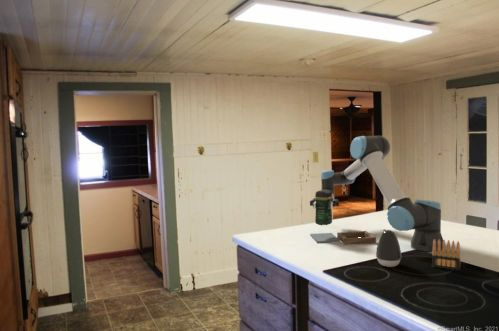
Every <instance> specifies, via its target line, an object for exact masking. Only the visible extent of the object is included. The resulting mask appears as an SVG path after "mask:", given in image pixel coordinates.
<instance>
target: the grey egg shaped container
mask: <svg viewBox="0 0 499 331" xmlns="http://www.w3.org/2000/svg"><path fill="white" fill-rule="evenodd" d="M382 231H383V232H382V233H381V234H380V236H379V239H378V241H377V242H378V243H377V246H376V253H375V257H376V259H377V262H378V264H380V265H381V266H383V267H385V266H386V268H394V267H396V266H398V265H399V264H400V262H401V259H402V251H401V247H400V242H399V240H398V237H397V235H396V233H395V232H393V231H392V230H390V229H389V230H388V229H387V230H386V229H383V230H382Z"/></svg>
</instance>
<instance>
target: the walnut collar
mask: <svg viewBox="0 0 499 331" xmlns="http://www.w3.org/2000/svg"><path fill="white" fill-rule="evenodd" d="M336 233H337V234H336V237H337V238H338V239H339V240H340V242H342V243H343V244H344V245H345V246H350V245H366V244H370V245H371V244H376V243H377V237H376V236H375V235H373V234H371V233H370V232H368V231H367V230H364V231H363V230H362V231H361V230H359V231H343V232H341V231H339V232H336ZM358 237H361V238H358Z"/></svg>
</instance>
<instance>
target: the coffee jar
mask: <svg viewBox="0 0 499 331" xmlns="http://www.w3.org/2000/svg"><path fill="white" fill-rule="evenodd" d="M314 197H315V199H316V208H315V220H314V221H315V225H316V224H317V225H318V226H328V225H330V224H332V223H333V212H332V210H333V208H332V209H331V202H332V192H331V191H330V190H326V189H323V190H318V191H316V192H315V195H314Z"/></svg>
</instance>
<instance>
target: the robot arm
mask: <svg viewBox="0 0 499 331" xmlns="http://www.w3.org/2000/svg"><path fill="white" fill-rule="evenodd" d="M349 148H350V149H349V152H350V155H351V157H352V158H353V159H355V161H354V162H353V163H351V164H350V165H349V166H348V167H347V168H345V170H343V171H341V172H335V170H333V169H325V170H324V169H323V170H322V171H321V175H320V176H321V177H320V179H321V190H323V189H326V190H330V191H331V192H332V202H331V209H332V210H333V208H334V207H339V206H340V205H339V204H340V201H339V199H338V198H335V186H341V185H342V186H344V185H350V184H353V183H354V182H355V181H356V178H357V177H358V176H360V174H362V173H363V172H365V171H366V170H367V169H368V171H369V174H370V175H371V176H372V178H373V180H374V181H375V184H376V185H377V187H378V188H379V190H380V192H381V194H382V196H383V198H384V199H385V201H386V203H387V204H388V205H387V208H386V209H387V213H386V215H387V222H388V223H389V225H390V226H391V227H392V228H393V229H394V230H397V231H399V232H404V231H405V232H407V231H411V230H414V231H413V235H412V238H411V240H410V247H411V248H412V249H414V250H417V251H422V252H432V248H433V241H434V239H435V241H436V249H437V246H438V240H439V239H440V242H441V252H442V244H443V240H444V238H443V234H442V231H441V229H442V228H441V227H442V226H441V225H442V223H441V222H442V206H441V203H440V202H438V201H436V200H428V199H418V198H417V199H415V200H414V202H413V201H412V198H410V197H409V196H406V195H405V194H404V192H403V190H402V189H401V187H400V186H399V184H398V183H397V181H396V179H395V177H394V176H393V174H392V173H391V171H390V169H389V168H388V166H387V164H386V163H385V160H384V159H385V158H386V157H387V156H389V153H390V151H391V144H390V142H389V140H388V139H387V138H386V137H385V136H382V135H368V136H367V135H361V136H356V137H355V138H353V140H352V141H351V144H350V147H349ZM309 206H310V207H312V208H313V209H315V210H316V199H315V198H313V199H311V200H309Z"/></svg>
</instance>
